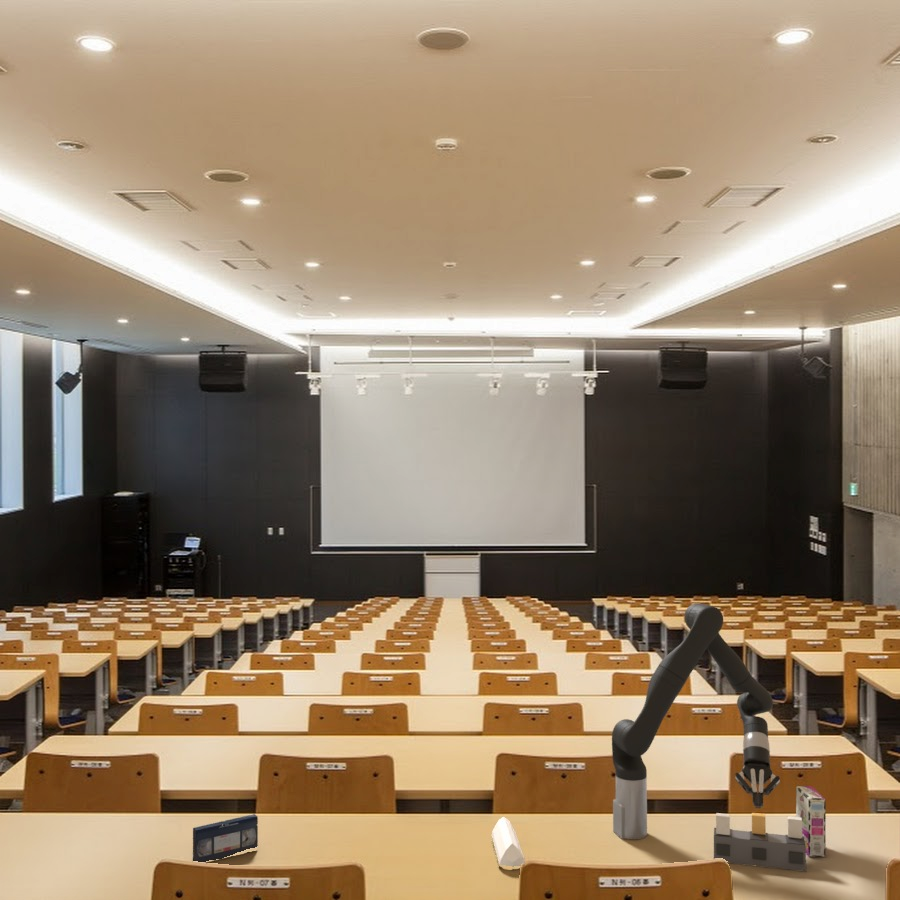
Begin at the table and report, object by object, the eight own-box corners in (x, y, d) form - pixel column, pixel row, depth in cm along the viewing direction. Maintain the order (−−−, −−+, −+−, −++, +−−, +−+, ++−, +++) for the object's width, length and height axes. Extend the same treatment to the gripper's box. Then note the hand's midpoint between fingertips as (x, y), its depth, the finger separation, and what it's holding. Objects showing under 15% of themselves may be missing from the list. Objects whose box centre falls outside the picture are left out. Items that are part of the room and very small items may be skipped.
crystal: (484, 825, 279) (492, 858, 255) (504, 812, 279) (515, 844, 255) (496, 846, 279) (506, 882, 255) (517, 833, 279) (529, 868, 255)
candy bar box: (827, 857, 263) (826, 798, 264) (809, 857, 264) (808, 798, 264) (812, 842, 275) (812, 785, 275) (795, 841, 275) (795, 785, 275)
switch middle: (752, 833, 262) (751, 815, 262) (751, 830, 264) (751, 812, 264) (765, 834, 261) (765, 816, 261) (765, 832, 263) (765, 814, 263)
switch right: (788, 837, 259) (787, 818, 259) (787, 834, 261) (787, 816, 261) (802, 838, 258) (801, 820, 258) (801, 835, 260) (801, 817, 260)
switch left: (716, 833, 262) (716, 815, 262) (716, 831, 264) (716, 813, 264) (729, 835, 261) (729, 816, 261) (729, 832, 263) (729, 814, 263)
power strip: (713, 862, 261) (713, 835, 261) (714, 852, 267) (714, 827, 267) (806, 872, 254) (805, 845, 254) (804, 862, 260) (804, 836, 260)
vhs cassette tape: (195, 866, 260) (195, 830, 260) (191, 862, 262) (191, 826, 262) (258, 851, 269) (258, 816, 270) (255, 848, 272) (254, 813, 272)
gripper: (733, 743, 280) (733, 798, 268) (780, 746, 276) (783, 803, 264) (733, 755, 285) (734, 811, 273) (779, 759, 281) (782, 815, 269)
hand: (758, 807), depth 269 cm, fingers closed
